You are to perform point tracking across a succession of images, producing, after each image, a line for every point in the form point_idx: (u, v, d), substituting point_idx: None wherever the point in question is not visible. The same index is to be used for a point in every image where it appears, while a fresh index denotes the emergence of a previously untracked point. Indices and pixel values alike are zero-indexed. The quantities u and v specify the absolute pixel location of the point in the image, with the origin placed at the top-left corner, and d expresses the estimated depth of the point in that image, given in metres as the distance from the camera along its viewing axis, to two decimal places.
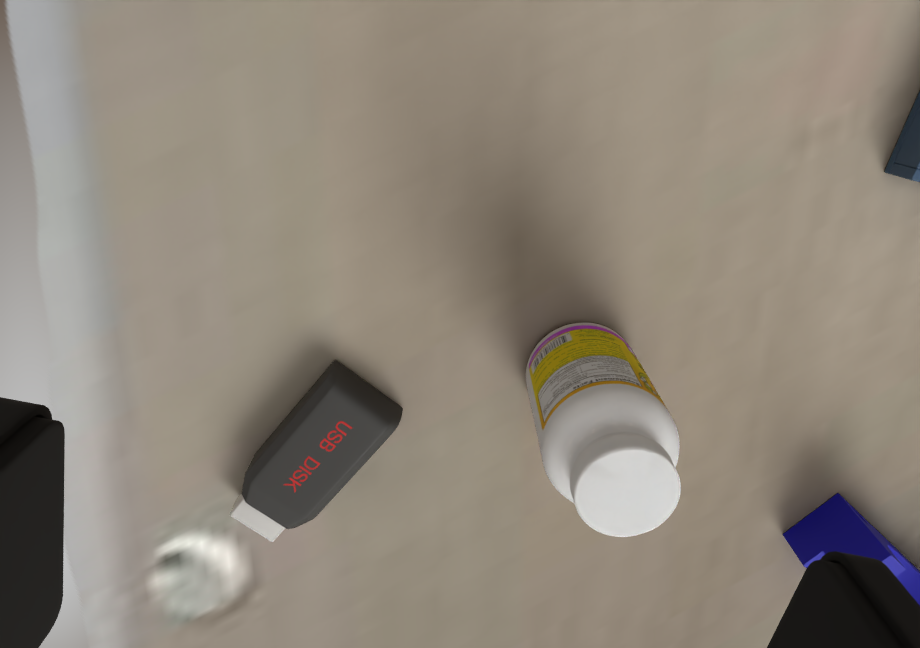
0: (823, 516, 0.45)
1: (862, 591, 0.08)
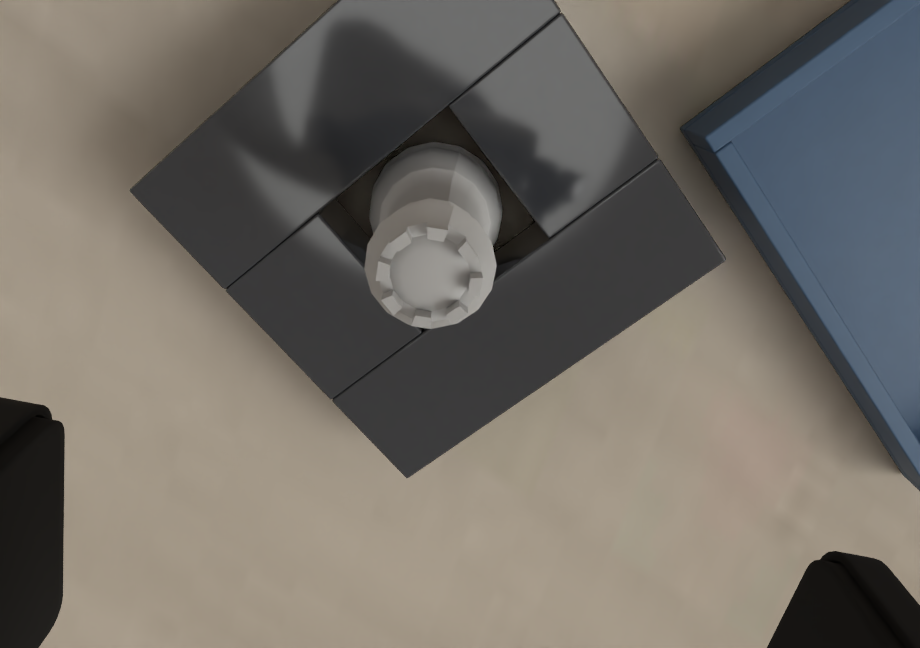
0: None
1: (862, 591, 0.08)
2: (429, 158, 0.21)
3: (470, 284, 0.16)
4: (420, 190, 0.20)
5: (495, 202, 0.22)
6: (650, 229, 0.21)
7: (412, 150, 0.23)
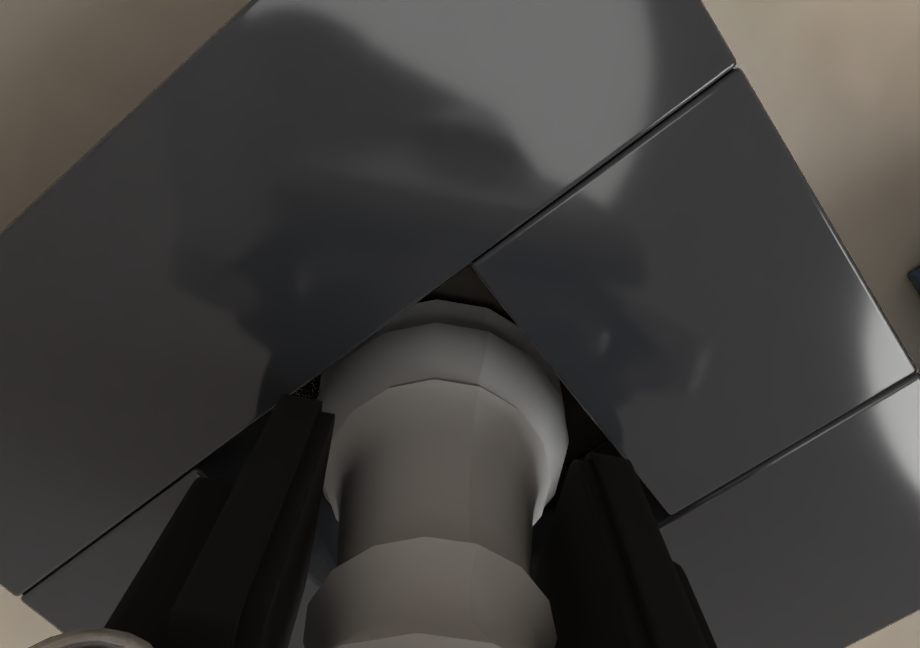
0: None
1: (603, 483, 0.09)
2: (427, 351, 0.10)
3: None
4: (405, 446, 0.09)
5: (558, 429, 0.11)
6: (880, 503, 0.10)
7: None
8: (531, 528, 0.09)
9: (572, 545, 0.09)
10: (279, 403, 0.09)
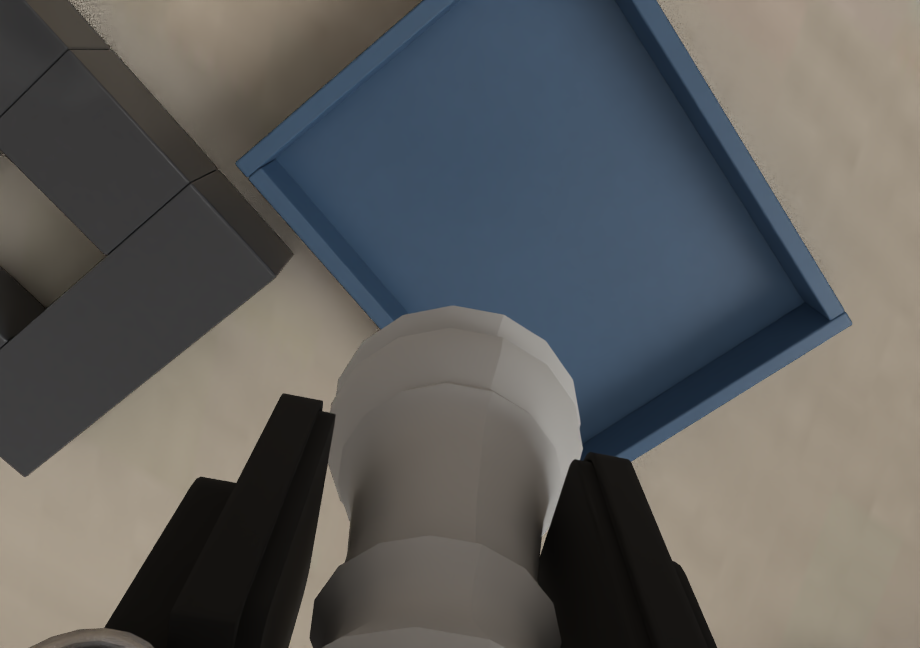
0: None
1: (602, 483, 0.09)
2: (441, 355, 0.11)
3: None
4: (417, 448, 0.09)
5: (571, 436, 0.11)
6: (197, 248, 0.23)
7: (412, 321, 0.12)
8: (540, 533, 0.09)
9: (572, 545, 0.09)
10: (280, 403, 0.09)
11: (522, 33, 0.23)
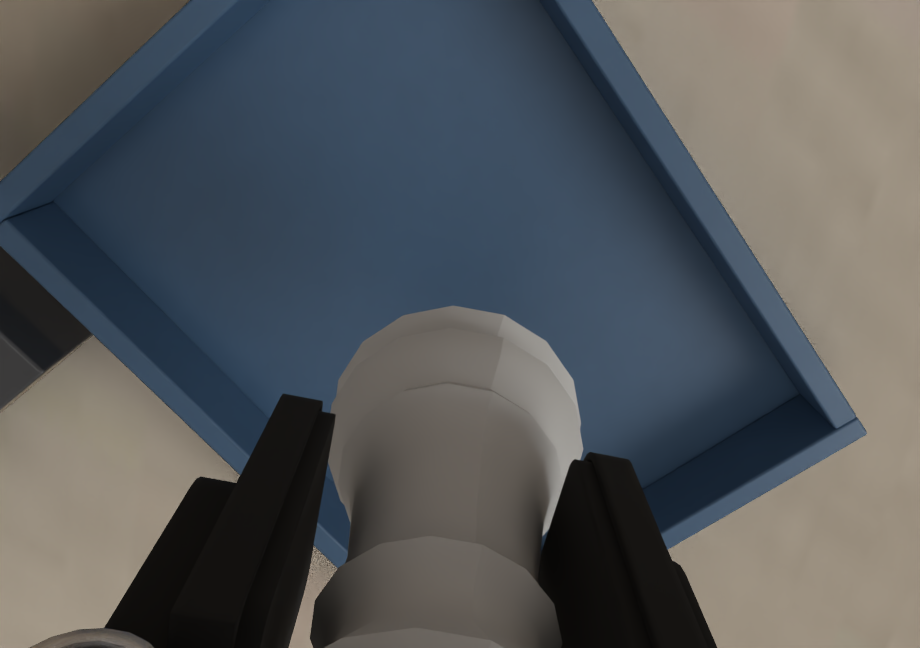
0: None
1: (602, 482, 0.09)
2: (441, 356, 0.11)
3: None
4: (417, 448, 0.09)
5: (572, 437, 0.11)
6: None
7: (412, 321, 0.12)
8: (541, 534, 0.09)
9: (572, 545, 0.09)
10: (280, 403, 0.09)
11: (391, 24, 0.16)
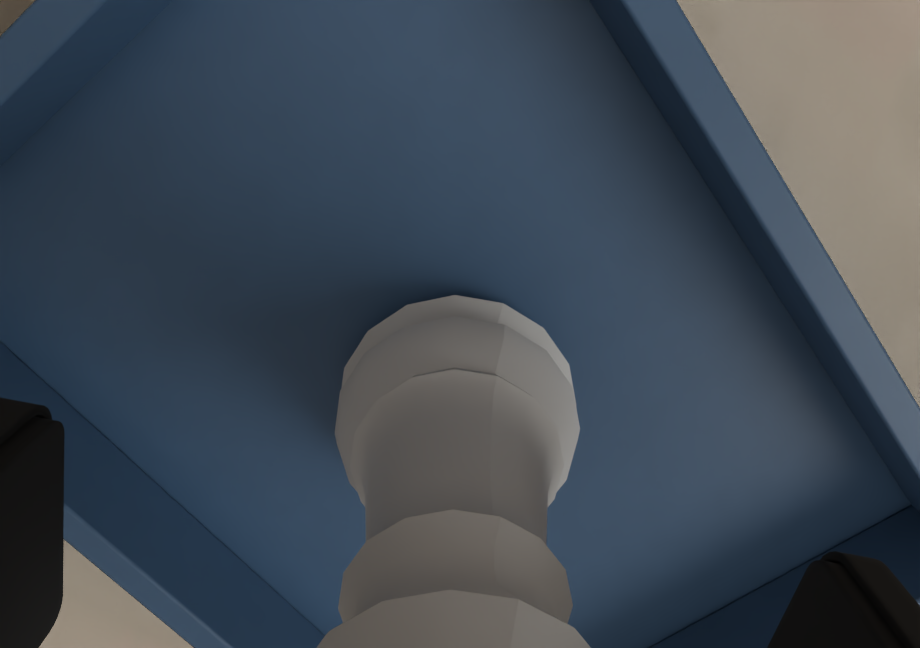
0: None
1: (862, 591, 0.08)
2: (448, 343, 0.11)
3: None
4: (429, 430, 0.10)
5: (570, 417, 0.12)
6: None
7: (415, 310, 0.12)
8: (546, 508, 0.10)
9: None
10: None
11: (365, 14, 0.11)
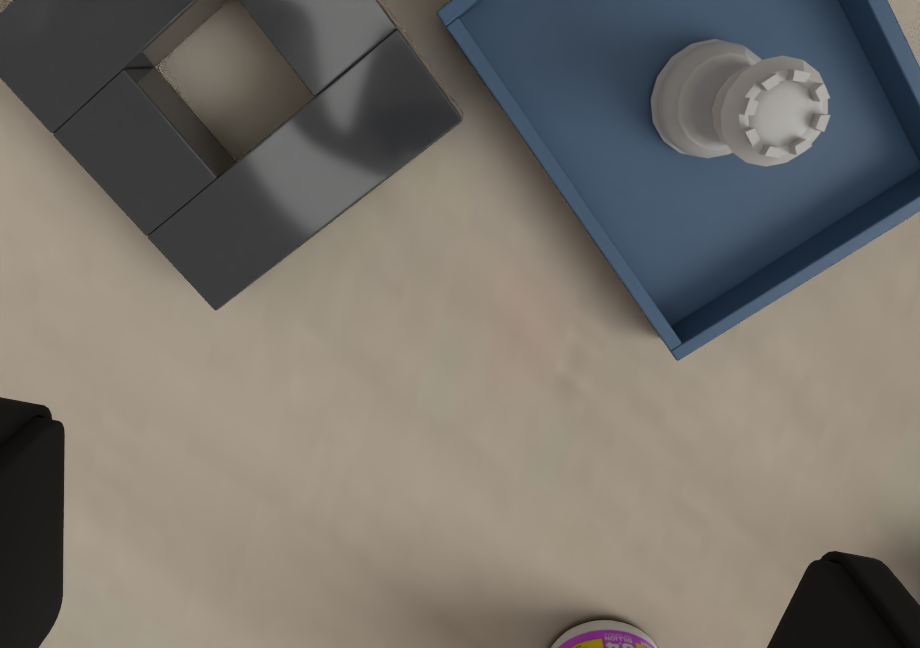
0: None
1: (863, 591, 0.08)
2: (722, 47, 0.26)
3: (819, 120, 0.21)
4: (729, 66, 0.24)
5: None
6: (396, 90, 0.26)
7: (696, 45, 0.27)
8: None
9: None
10: None
11: None
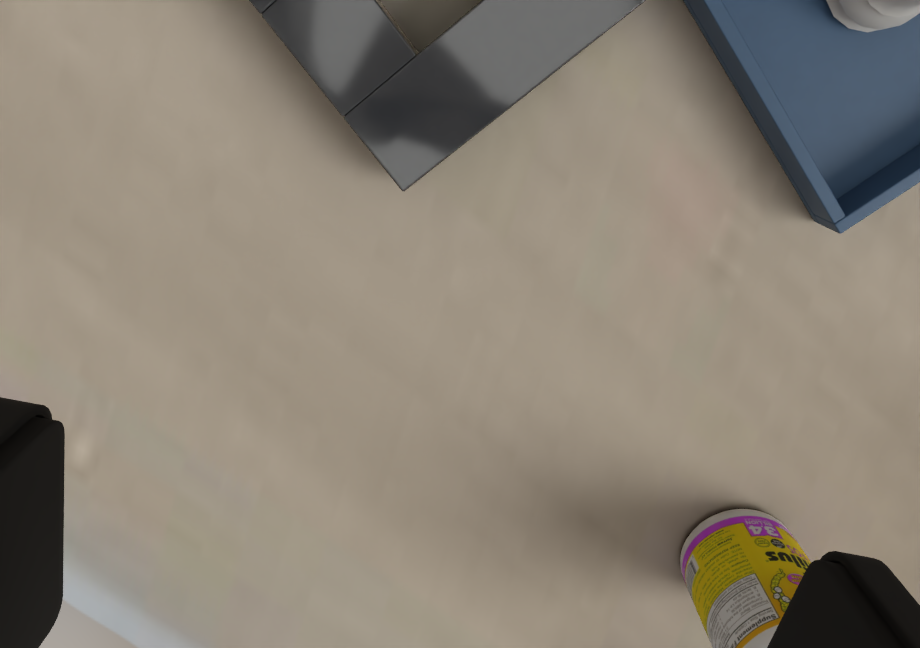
0: None
1: (863, 591, 0.08)
2: None
3: None
4: None
5: None
6: None
7: None
8: None
9: None
10: None
11: None
